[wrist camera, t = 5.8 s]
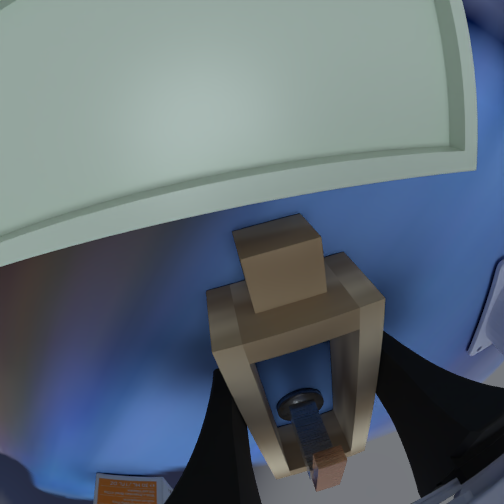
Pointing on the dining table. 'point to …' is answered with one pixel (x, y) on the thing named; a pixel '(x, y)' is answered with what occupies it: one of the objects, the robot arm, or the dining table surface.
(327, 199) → the dining table surface
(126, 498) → the skincare box
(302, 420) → the rubber stamp
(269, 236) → the tan rectangular frame
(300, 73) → the tray
